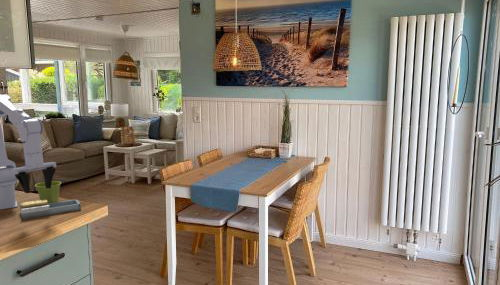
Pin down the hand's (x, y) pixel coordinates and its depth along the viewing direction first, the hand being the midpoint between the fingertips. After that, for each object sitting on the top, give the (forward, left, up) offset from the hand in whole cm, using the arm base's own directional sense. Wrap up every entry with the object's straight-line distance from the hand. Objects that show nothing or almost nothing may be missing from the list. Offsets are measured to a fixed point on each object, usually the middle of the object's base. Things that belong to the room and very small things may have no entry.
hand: (38, 190), depth 140 cm
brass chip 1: (-6, -3, -8) cm, 11 cm away
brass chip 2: (-6, +1, -8) cm, 11 cm away
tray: (-6, +9, -10) cm, 15 cm away
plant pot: (-16, +5, -11) cm, 20 cm away
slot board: (-6, -1, -10) cm, 12 cm away
